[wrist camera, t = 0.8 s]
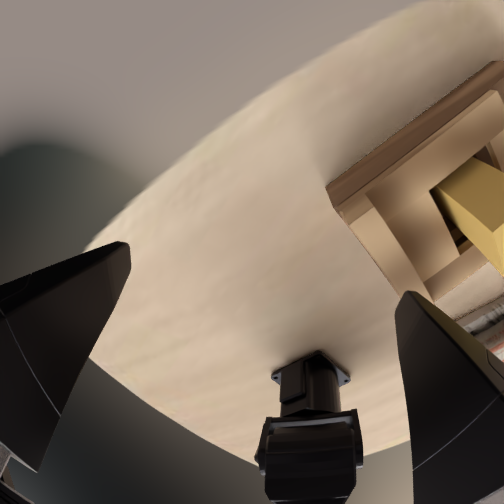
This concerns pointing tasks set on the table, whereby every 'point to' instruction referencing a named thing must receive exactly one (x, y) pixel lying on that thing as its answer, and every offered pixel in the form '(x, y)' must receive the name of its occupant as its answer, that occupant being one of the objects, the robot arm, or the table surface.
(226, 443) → the table surface
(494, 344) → the packaged product
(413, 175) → the lid
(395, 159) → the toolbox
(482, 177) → the yellow rectangular block
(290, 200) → the table surface
